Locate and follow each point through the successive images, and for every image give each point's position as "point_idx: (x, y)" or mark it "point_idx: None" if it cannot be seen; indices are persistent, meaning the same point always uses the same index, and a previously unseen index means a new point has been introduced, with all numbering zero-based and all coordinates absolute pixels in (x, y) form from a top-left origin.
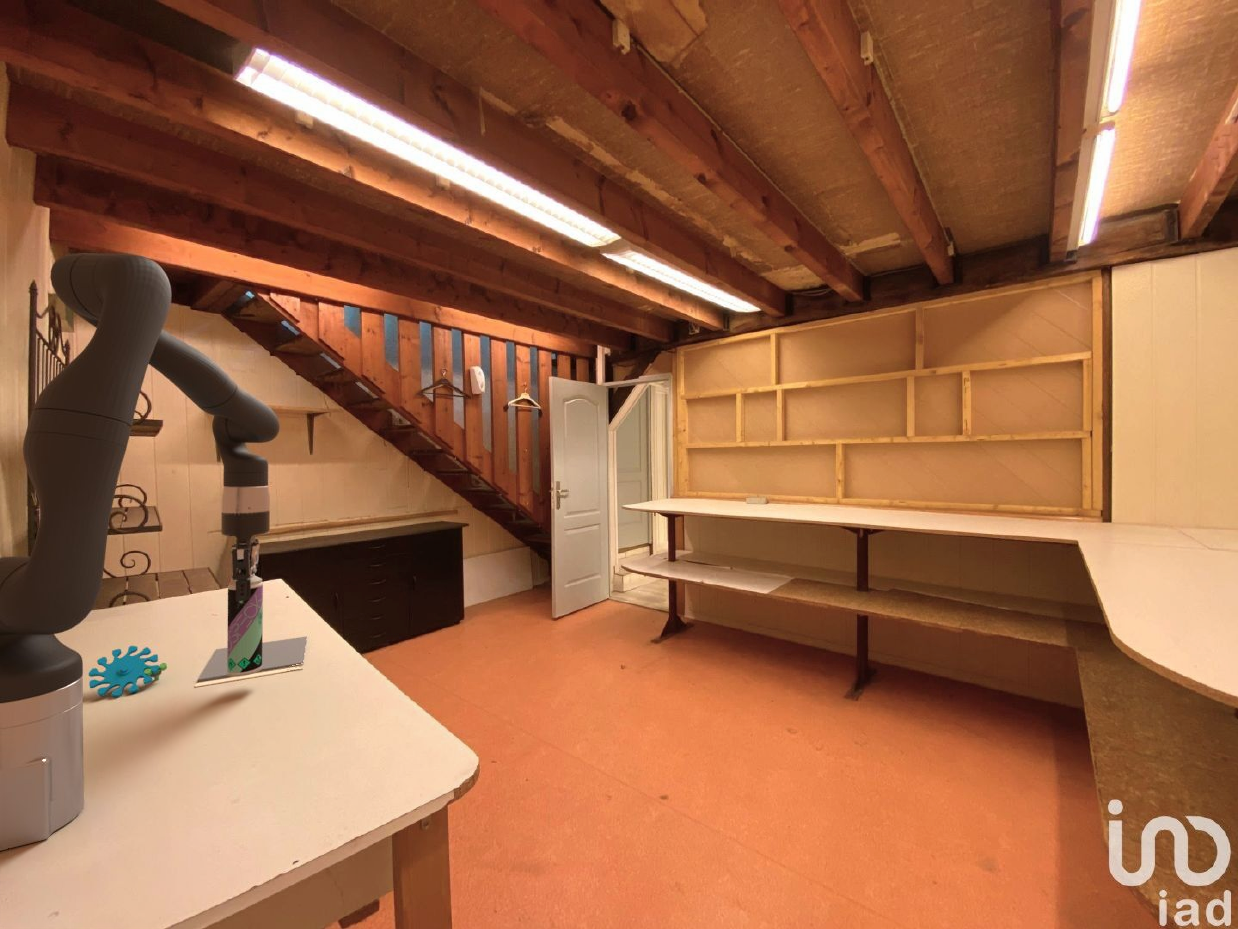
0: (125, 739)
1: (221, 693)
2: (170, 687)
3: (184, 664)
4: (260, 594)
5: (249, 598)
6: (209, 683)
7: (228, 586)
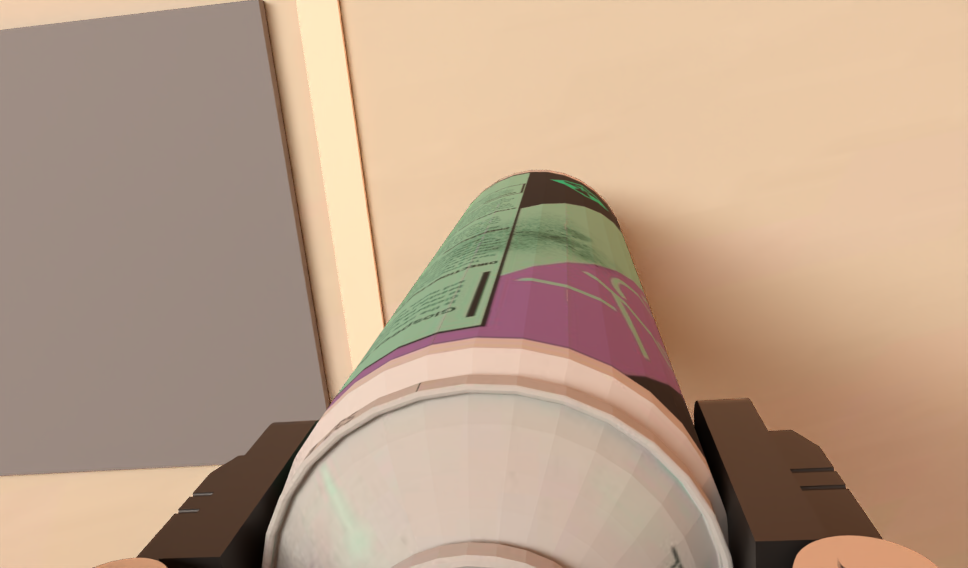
0: None
1: None
2: None
3: (89, 556)
4: (572, 311)
5: (747, 402)
6: None
7: None
